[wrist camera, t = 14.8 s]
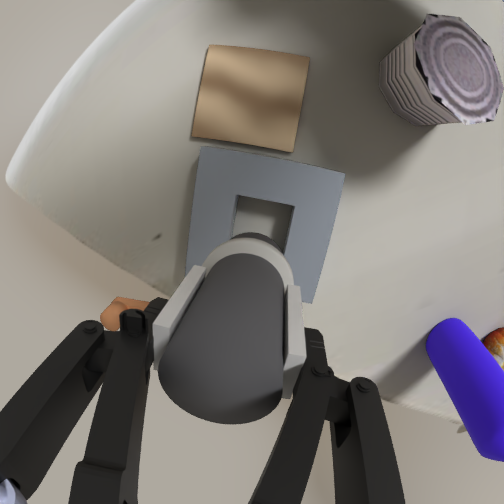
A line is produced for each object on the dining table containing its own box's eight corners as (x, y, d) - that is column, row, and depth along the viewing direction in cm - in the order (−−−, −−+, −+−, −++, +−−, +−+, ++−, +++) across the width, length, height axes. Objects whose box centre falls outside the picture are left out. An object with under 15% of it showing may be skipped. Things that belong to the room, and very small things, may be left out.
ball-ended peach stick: (118, 314, 27) (103, 331, 24) (114, 290, 26) (97, 306, 23) (253, 334, 26) (250, 357, 23) (255, 309, 25) (252, 331, 22)
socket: (207, 146, 34) (167, 145, 21) (340, 171, 33) (372, 184, 21) (191, 268, 39) (154, 320, 27) (309, 292, 39) (319, 354, 26)
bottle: (415, 354, 41) (482, 510, 12) (439, 311, 38) (538, 464, 10) (449, 359, 41) (518, 493, 12) (472, 319, 38) (565, 448, 10)
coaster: (210, 46, 29) (209, 44, 29) (309, 59, 29) (310, 57, 28) (192, 136, 33) (191, 136, 33) (292, 152, 33) (292, 152, 32)
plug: (217, 217, 22) (141, 304, 10) (300, 233, 22) (319, 342, 10) (207, 290, 24) (148, 411, 12) (282, 305, 24) (277, 440, 12)
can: (391, 30, 26) (430, -7, 15) (460, 76, 26) (514, 61, 15) (364, 98, 30) (401, 77, 19) (438, 144, 30) (494, 147, 19)
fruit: (521, 336, 38) (532, 366, 31) (482, 362, 44) (490, 393, 37) (508, 310, 36) (522, 343, 30) (464, 341, 42) (473, 375, 36)
